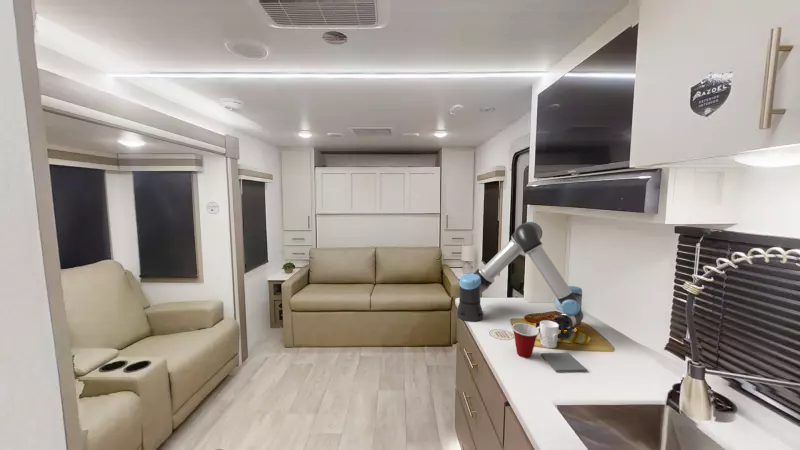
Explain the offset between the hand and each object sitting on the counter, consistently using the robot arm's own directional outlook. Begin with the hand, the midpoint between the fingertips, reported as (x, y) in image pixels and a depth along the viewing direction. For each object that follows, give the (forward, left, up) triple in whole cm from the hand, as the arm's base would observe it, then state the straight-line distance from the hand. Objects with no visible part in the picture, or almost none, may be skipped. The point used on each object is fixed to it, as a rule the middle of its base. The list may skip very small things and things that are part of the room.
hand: (544, 335), depth 140 cm
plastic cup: (+6, -11, -6) cm, 14 cm away
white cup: (-3, +4, -6) cm, 8 cm away
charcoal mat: (+13, +2, -6) cm, 14 cm away
